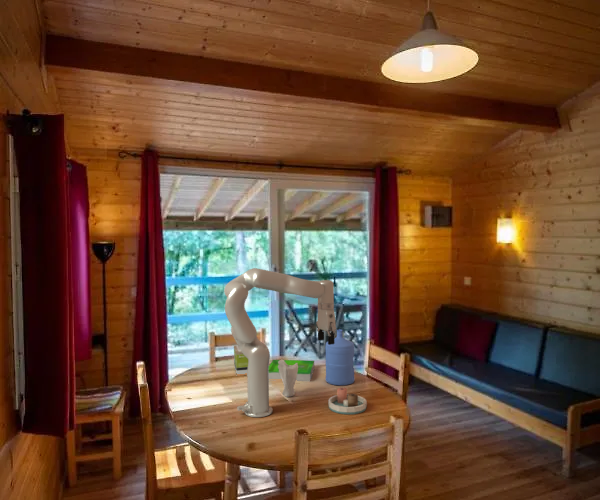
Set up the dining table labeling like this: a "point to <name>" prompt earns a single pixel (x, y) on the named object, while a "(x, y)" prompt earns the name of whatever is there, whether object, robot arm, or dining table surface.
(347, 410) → the groove dish
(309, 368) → the tray
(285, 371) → the shell sculpture
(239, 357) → the tea box
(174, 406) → the dining table surface
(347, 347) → the water jug
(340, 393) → the coral bead
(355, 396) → the walnut bead
